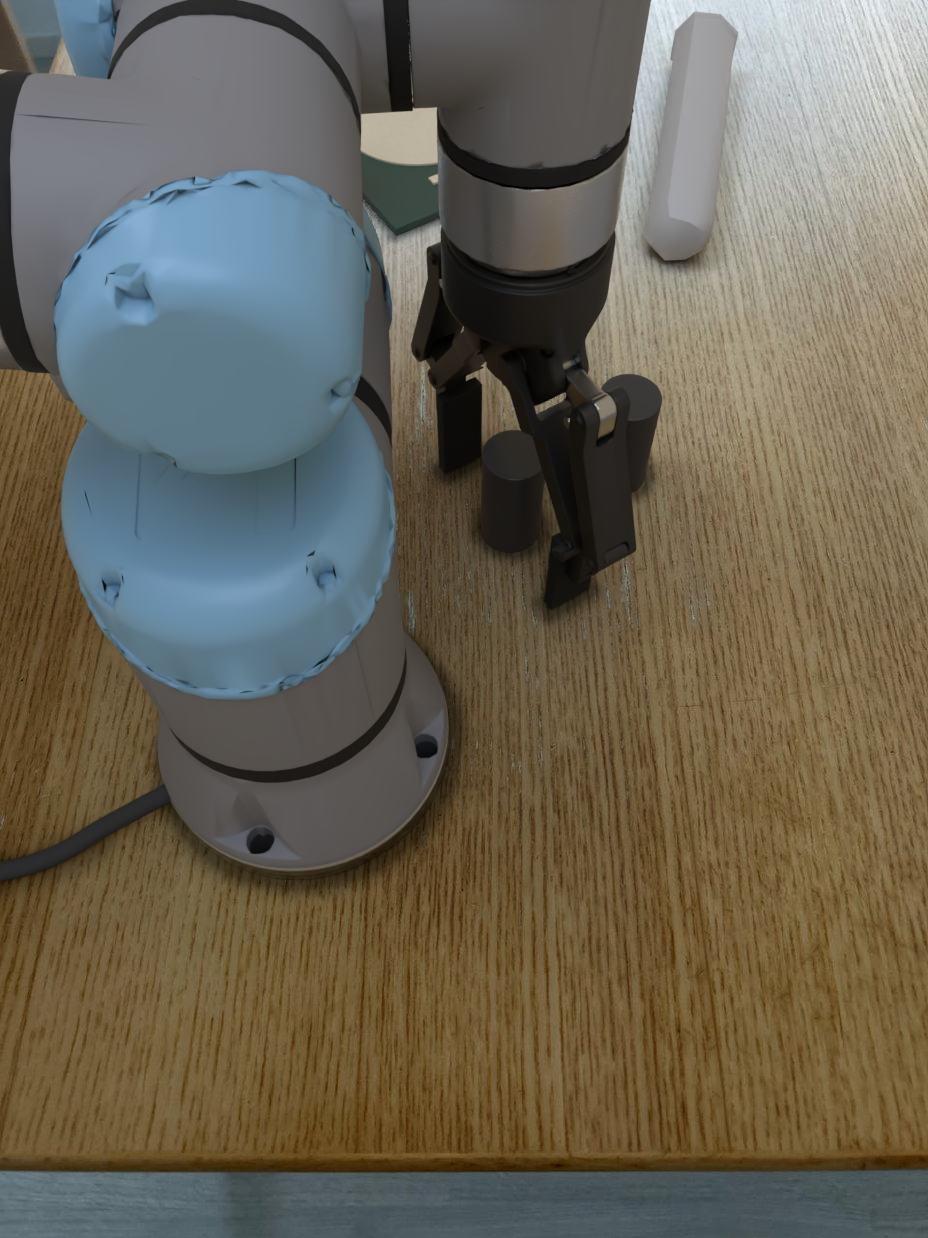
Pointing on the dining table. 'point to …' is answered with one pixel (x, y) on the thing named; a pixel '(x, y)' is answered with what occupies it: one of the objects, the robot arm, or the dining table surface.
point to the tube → (691, 137)
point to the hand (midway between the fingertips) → (511, 525)
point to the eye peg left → (511, 491)
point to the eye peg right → (638, 421)
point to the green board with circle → (401, 166)
